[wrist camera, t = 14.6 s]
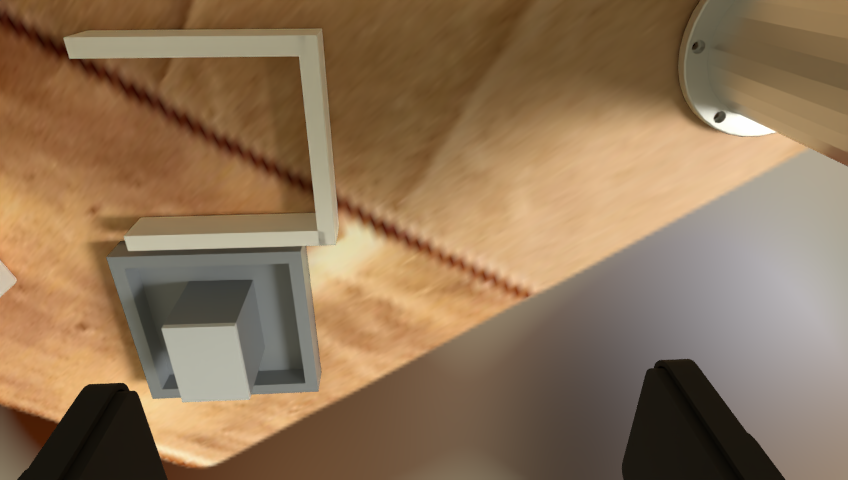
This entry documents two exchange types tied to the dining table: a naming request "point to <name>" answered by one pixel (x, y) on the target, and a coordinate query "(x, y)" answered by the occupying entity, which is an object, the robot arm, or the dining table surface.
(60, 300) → the dining table surface
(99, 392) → the robot arm
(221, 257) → the tray
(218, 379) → the gray block
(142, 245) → the bay
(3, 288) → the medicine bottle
